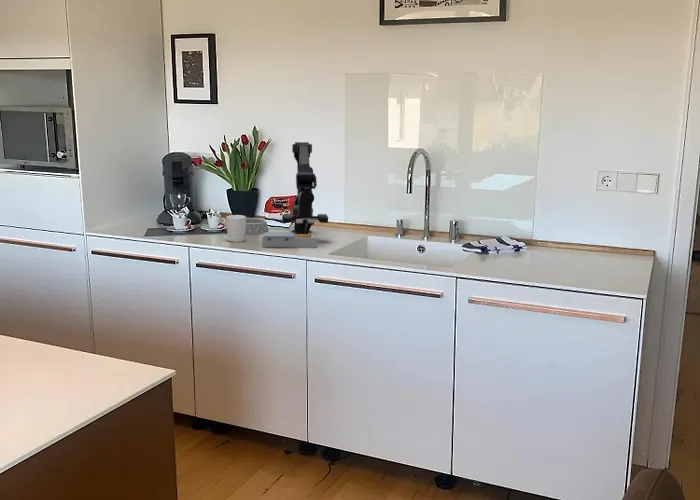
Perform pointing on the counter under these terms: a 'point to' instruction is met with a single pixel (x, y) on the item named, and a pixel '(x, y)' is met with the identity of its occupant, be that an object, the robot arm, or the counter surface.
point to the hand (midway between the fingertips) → (304, 238)
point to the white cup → (236, 228)
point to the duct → (289, 242)
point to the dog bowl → (255, 226)
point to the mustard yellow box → (304, 235)
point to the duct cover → (279, 234)
